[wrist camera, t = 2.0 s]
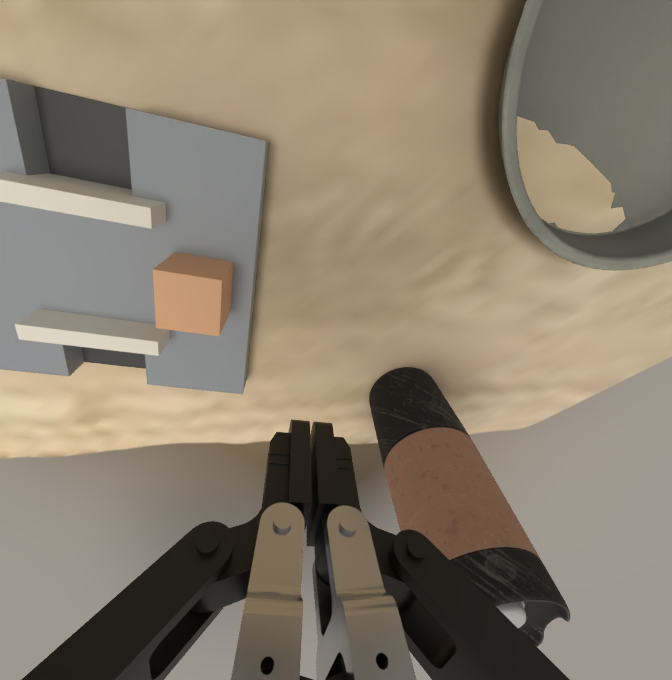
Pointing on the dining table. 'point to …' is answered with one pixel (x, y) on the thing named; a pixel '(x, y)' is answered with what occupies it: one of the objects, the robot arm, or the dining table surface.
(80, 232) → the tunnel deck
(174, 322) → the block
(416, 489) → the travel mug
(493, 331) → the dining table surface
